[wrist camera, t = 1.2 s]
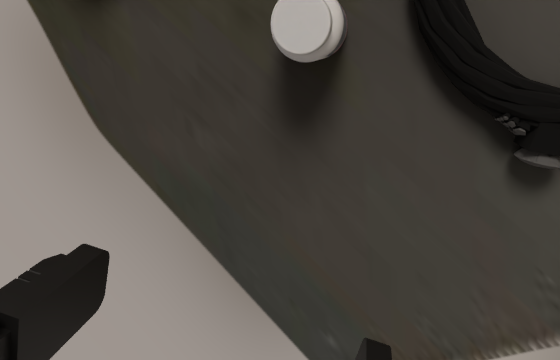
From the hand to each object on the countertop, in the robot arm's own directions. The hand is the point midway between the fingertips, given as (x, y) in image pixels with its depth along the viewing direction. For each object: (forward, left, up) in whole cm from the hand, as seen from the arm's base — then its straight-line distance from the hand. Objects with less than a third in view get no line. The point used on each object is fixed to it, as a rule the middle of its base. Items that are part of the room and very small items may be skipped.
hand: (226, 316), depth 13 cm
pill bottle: (+3, -9, -28) cm, 30 cm away
